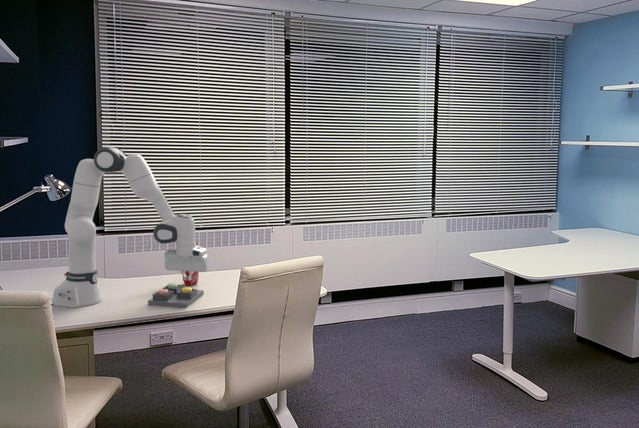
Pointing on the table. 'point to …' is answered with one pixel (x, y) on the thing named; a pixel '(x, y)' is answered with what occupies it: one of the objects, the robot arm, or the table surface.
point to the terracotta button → (163, 291)
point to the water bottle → (192, 277)
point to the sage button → (172, 285)
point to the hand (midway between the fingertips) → (187, 280)
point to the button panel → (175, 297)
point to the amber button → (187, 289)
